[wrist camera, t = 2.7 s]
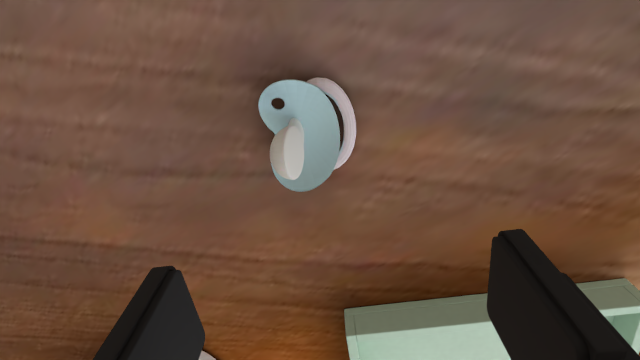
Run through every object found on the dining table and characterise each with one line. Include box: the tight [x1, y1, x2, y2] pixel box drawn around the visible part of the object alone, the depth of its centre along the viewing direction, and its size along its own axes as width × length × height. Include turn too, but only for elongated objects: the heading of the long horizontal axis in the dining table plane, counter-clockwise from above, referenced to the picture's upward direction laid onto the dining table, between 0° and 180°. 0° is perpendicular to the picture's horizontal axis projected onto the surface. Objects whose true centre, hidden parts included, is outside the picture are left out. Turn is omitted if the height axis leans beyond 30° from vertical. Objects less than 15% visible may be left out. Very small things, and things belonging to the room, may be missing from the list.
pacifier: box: [259, 77, 356, 192], centre depth 22 cm, size 7×6×6 cm
